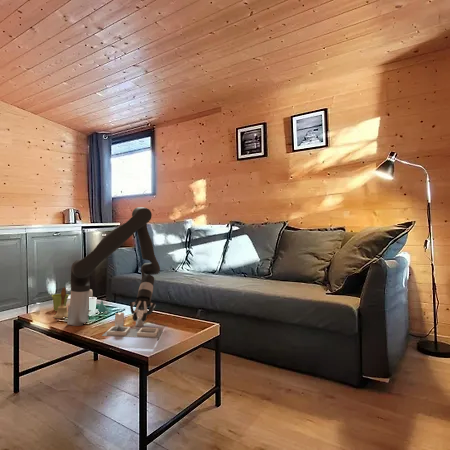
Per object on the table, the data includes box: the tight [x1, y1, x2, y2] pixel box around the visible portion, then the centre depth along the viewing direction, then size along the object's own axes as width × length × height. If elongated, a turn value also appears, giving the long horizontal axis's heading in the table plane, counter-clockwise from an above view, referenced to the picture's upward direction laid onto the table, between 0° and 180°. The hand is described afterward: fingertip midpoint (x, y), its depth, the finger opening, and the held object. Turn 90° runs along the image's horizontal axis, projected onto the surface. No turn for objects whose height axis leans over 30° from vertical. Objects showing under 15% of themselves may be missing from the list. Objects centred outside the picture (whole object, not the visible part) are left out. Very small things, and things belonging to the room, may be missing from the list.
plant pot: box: [51, 293, 70, 312], centre depth 209 cm, size 9×9×9 cm
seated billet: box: [114, 311, 125, 332], centre depth 167 cm, size 4×4×9 cm
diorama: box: [97, 300, 108, 312], centre depth 206 cm, size 12×20×9 cm, turn 154°
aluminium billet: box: [135, 309, 145, 328], centre depth 181 cm, size 4×4×9 cm
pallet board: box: [101, 325, 164, 341], centre depth 168 cm, size 26×13×2 cm, turn 91°
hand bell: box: [53, 287, 68, 319], centre depth 194 cm, size 8×8×16 cm
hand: (139, 320), depth 179 cm, fingers closed on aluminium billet, 4 cm apart
